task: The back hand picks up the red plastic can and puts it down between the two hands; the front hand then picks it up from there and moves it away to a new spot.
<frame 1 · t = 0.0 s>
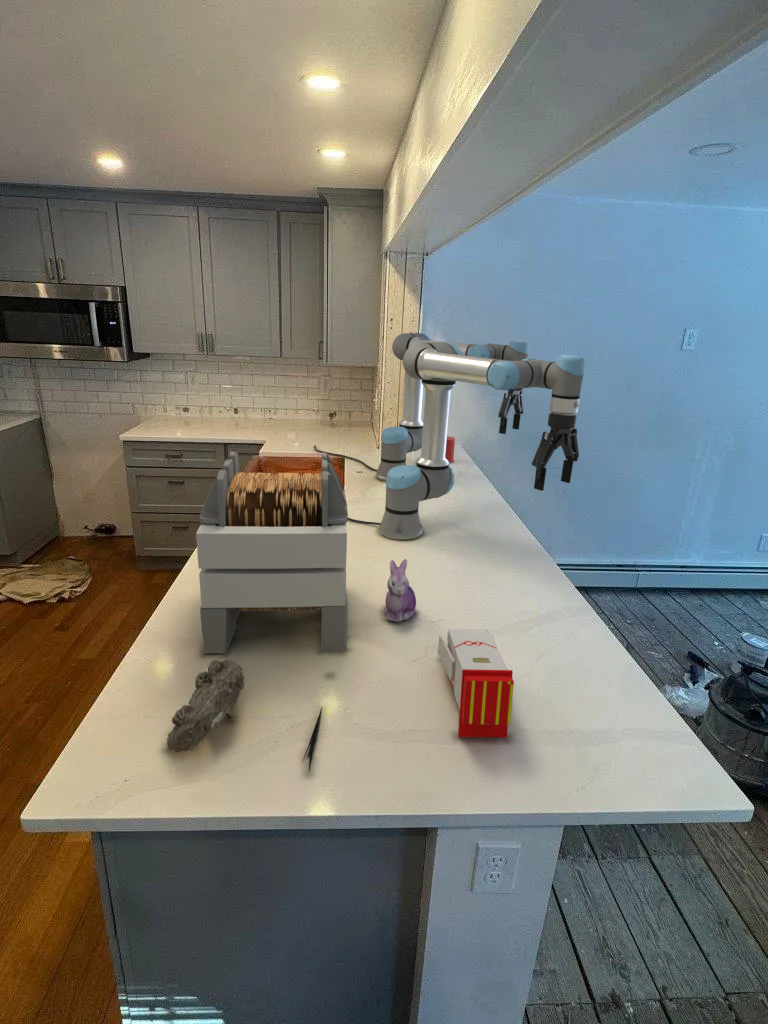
front hand: (552, 485, 166), 28 cm above the counter, tool pointing down, fingers open, 13 cm apart
back hand: (509, 431, 239), 28 cm above the counter, tool pointing down, fingers open, 13 cm apart
record crate: (280, 616, 144), on the counter
can: (445, 460, 300), on the counter
feather: (319, 719, 109), on the counter
toy: (469, 691, 119), on the counter
figurine: (399, 614, 147), on the counter
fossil: (212, 717, 108), on the counter
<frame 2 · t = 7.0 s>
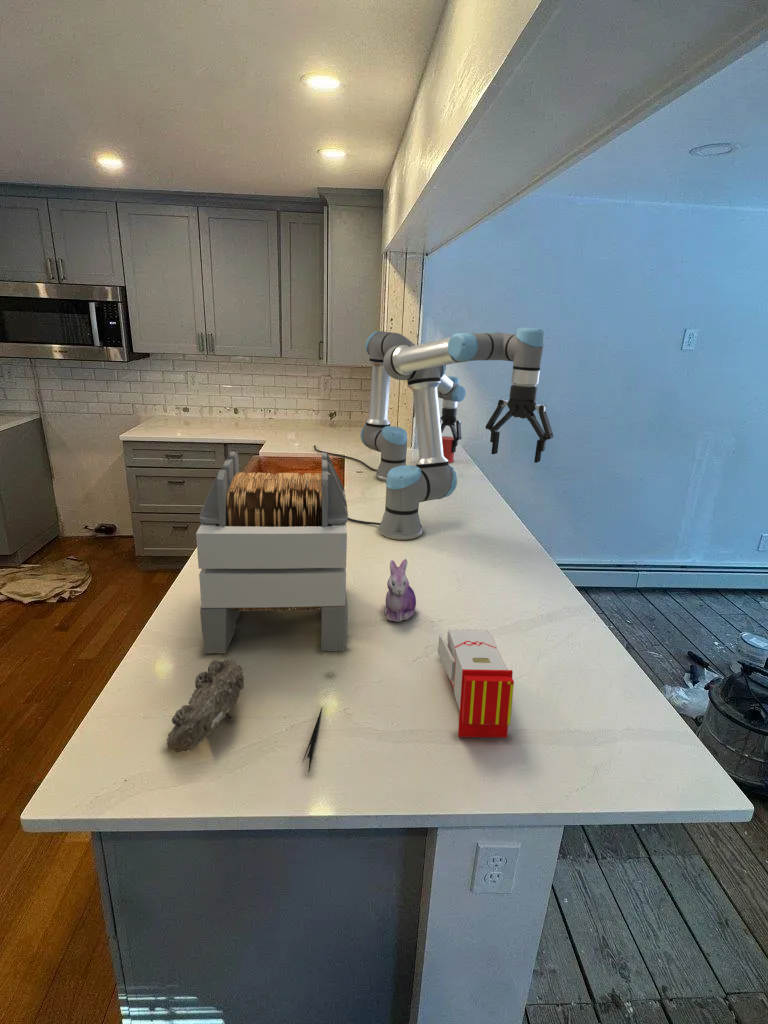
front hand: (515, 457, 168), 35 cm above the counter, tool pointing down, fingers open, 13 cm apart
back hand: (446, 450, 298), 6 cm above the counter, tool pointing down, fingers closed on can, 8 cm apart
can: (445, 460, 300), on the counter, touching back hand
everything else where it was.
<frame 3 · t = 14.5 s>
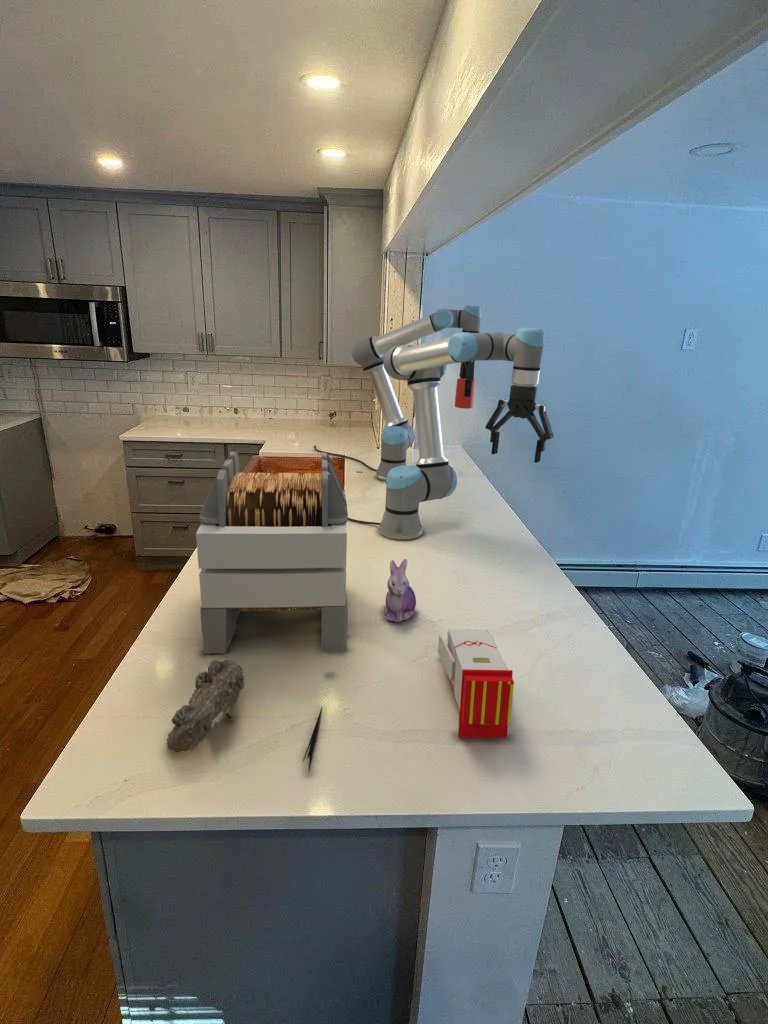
front hand: (515, 457, 168), 35 cm above the counter, tool pointing down, fingers open, 13 cm apart
back hand: (464, 394, 257), 39 cm above the counter, tool pointing down, fingers closed on can, 8 cm apart
can: (463, 407, 259), point 34 cm above the counter, touching back hand
everything else where it was.
when the back hand's fingers open (7 cm above the counter, at t = 22.1 s): can drops 2 cm, on the counter.
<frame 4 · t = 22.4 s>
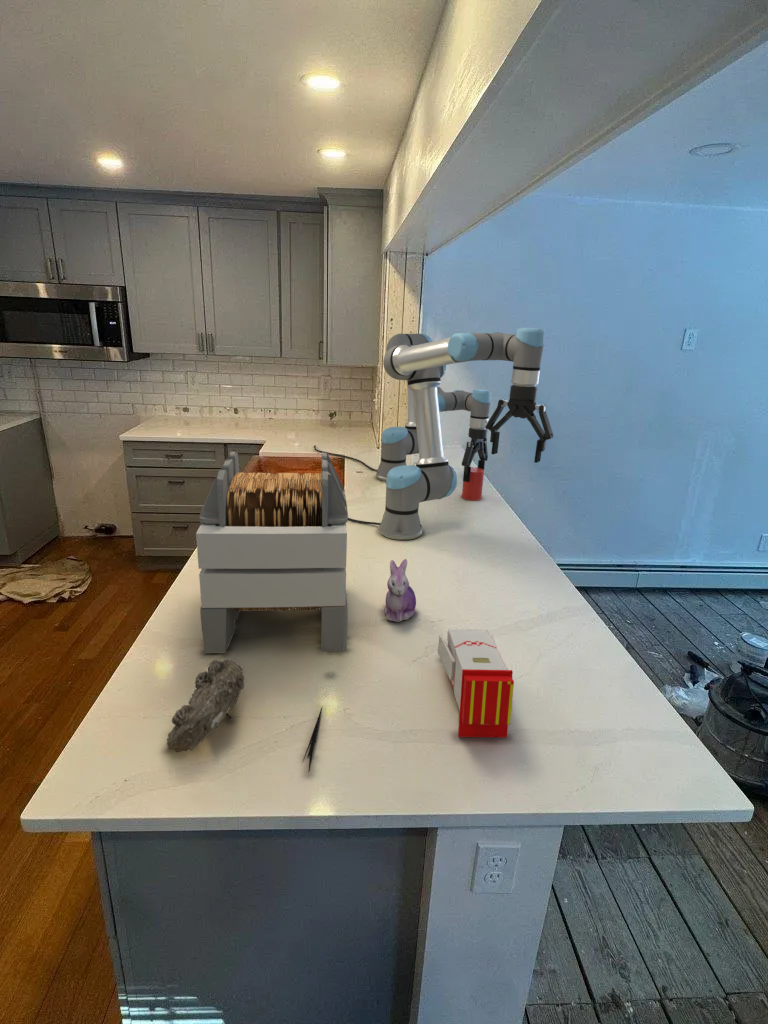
front hand: (515, 457, 168), 35 cm above the counter, tool pointing down, fingers open, 13 cm apart
back hand: (473, 478, 240), 9 cm above the counter, tool pointing down, fingers open, 12 cm apart
can: (471, 497, 243), on the counter
everything else where it was.
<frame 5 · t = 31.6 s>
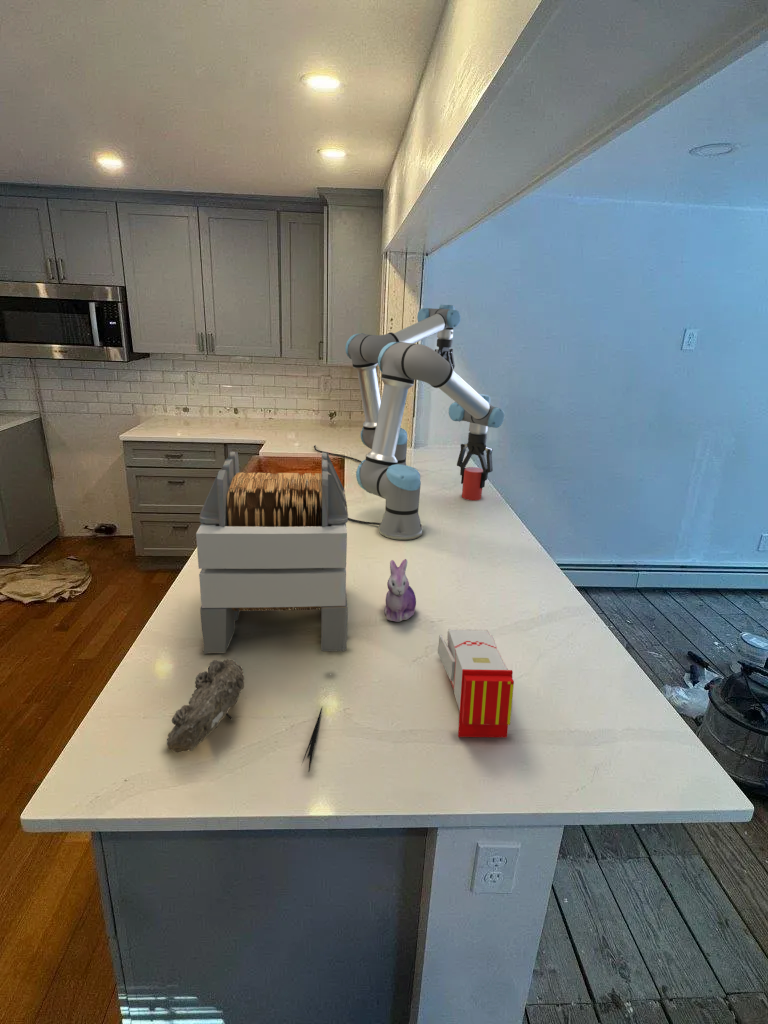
front hand: (472, 485, 241), 6 cm above the counter, tool pointing down, fingers closed on can, 8 cm apart
back hand: (441, 383, 281), 41 cm above the counter, tool pointing down, fingers open, 13 cm apart
can: (471, 497, 243), on the counter, touching front hand
everything else where it was.
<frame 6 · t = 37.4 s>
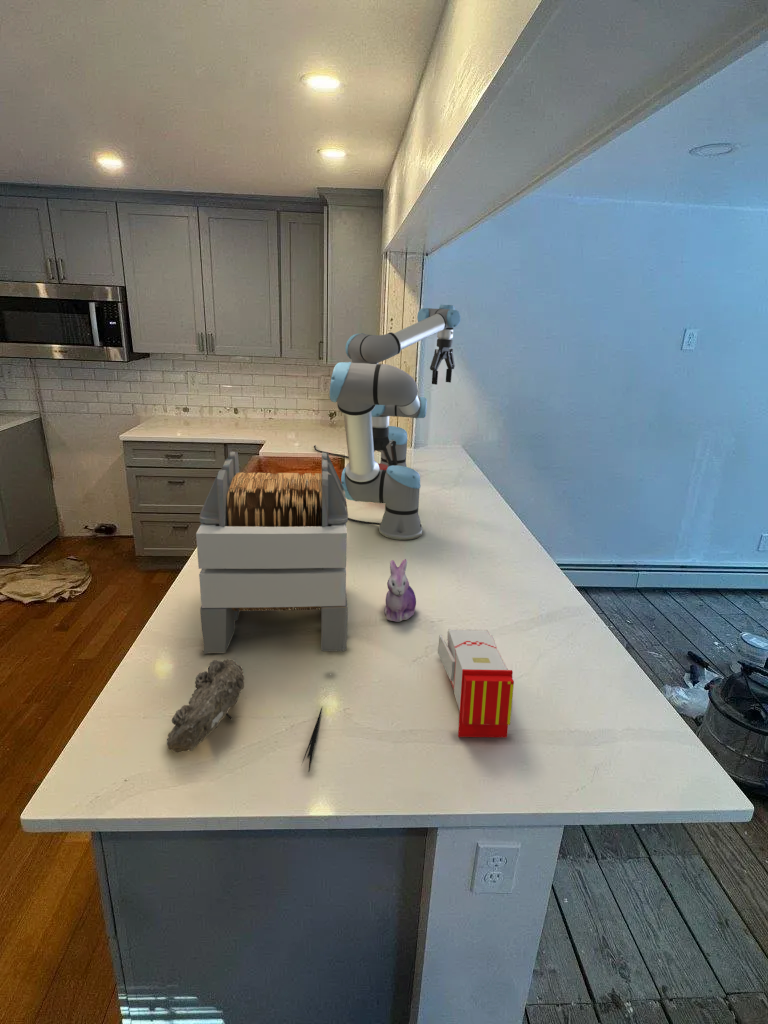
front hand: (376, 482, 225), 9 cm above the counter, tool pointing down, fingers closed on can, 8 cm apart
back hand: (441, 383, 281), 41 cm above the counter, tool pointing down, fingers open, 13 cm apart
can: (376, 495, 227), point 4 cm above the counter, touching front hand
everything else where it was.
when the front hand's fingers open (7 cm above the counter, at t = 43.2 s): can drops 2 cm, on the counter.
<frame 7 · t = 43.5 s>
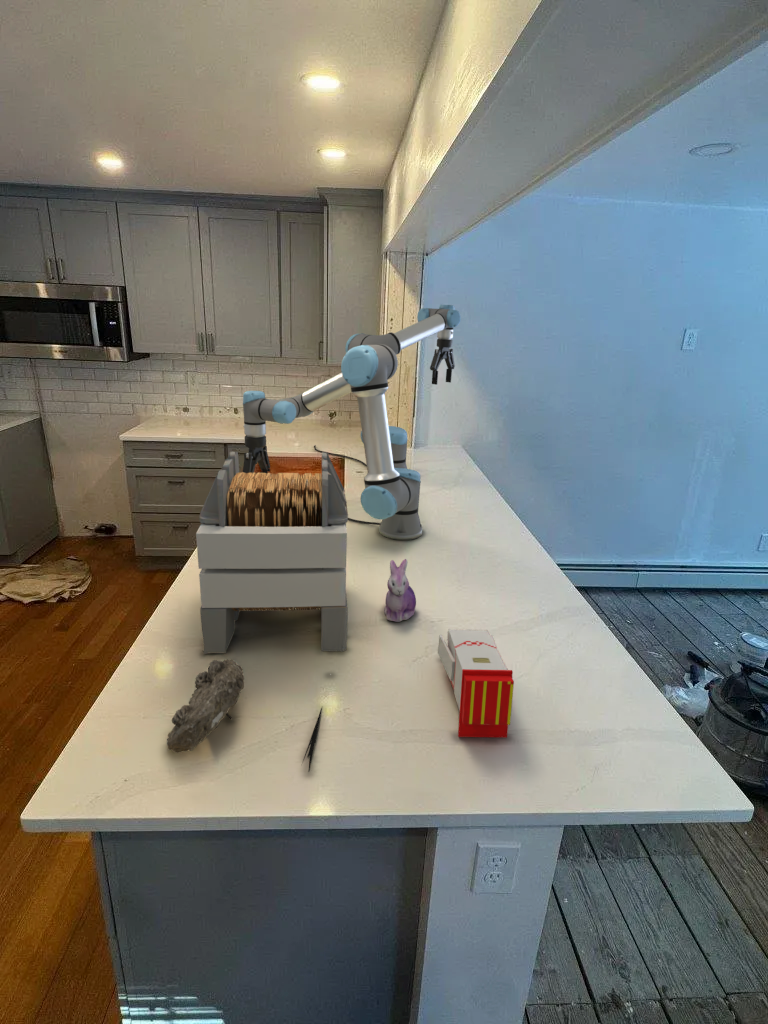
front hand: (257, 493, 210), 8 cm above the counter, tool pointing down, fingers open, 11 cm apart
back hand: (441, 383, 281), 41 cm above the counter, tool pointing down, fingers open, 13 cm apart
can: (258, 514, 212), on the counter
everything else where it was.
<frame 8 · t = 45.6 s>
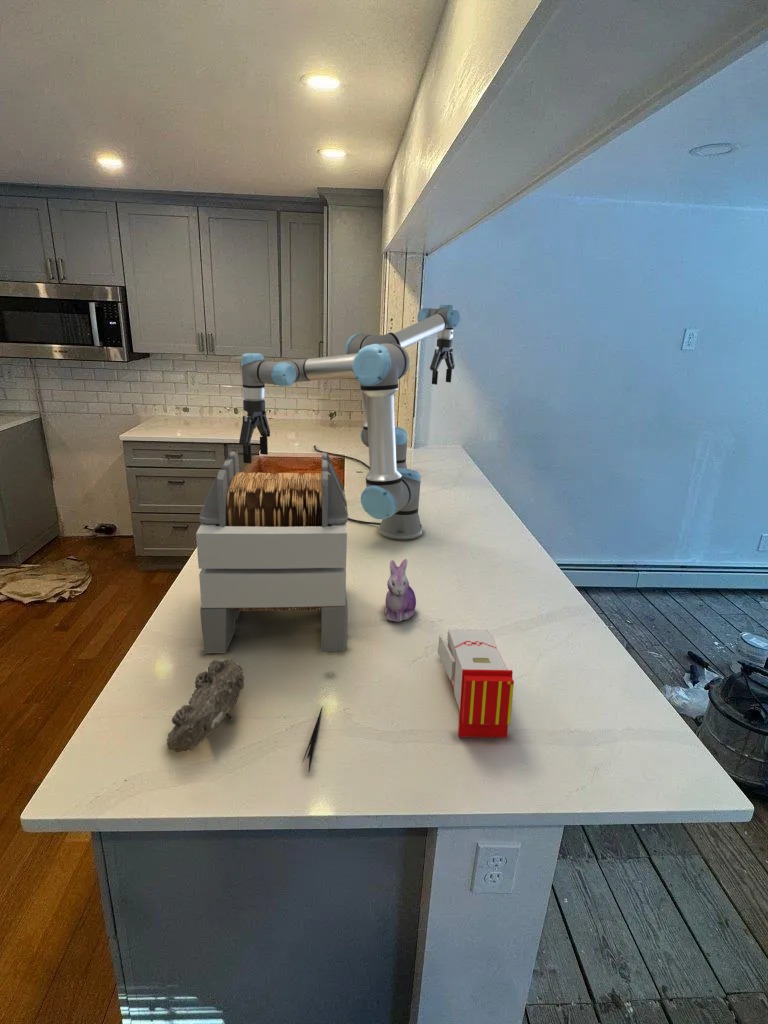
front hand: (256, 458, 205), 21 cm above the counter, tool pointing down, fingers open, 13 cm apart
back hand: (441, 383, 281), 41 cm above the counter, tool pointing down, fingers open, 13 cm apart
nothing on the counter moved.
at the end: can inside the target area (0.0 cm from its centre), on the counter; can tilted 0°; the two hands never held the can at the same time; the front hand is holding nothing; the back hand is holding nothing; can at rest at the end (0.0 cm/s) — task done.
